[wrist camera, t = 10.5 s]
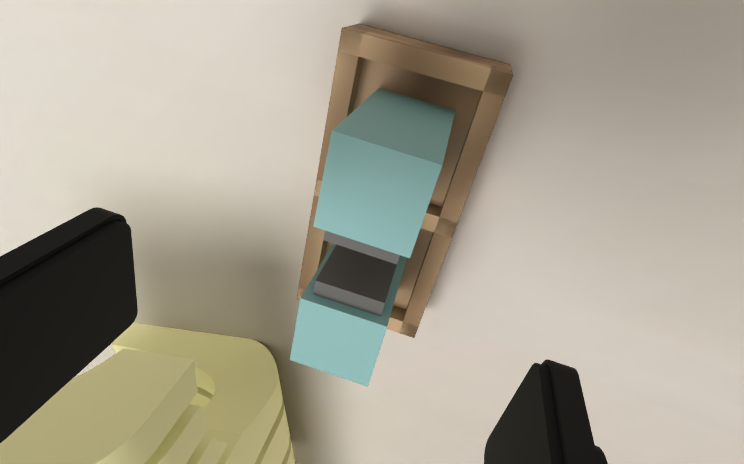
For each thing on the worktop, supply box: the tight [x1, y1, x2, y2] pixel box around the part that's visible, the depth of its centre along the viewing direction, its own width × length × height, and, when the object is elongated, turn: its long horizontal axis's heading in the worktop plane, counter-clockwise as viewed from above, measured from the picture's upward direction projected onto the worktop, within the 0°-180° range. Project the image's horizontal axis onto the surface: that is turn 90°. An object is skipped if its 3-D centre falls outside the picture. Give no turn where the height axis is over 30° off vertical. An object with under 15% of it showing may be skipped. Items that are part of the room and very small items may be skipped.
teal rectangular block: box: [313, 88, 455, 264], centre depth 19 cm, size 4×5×8 cm
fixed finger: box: [290, 243, 407, 387], centre depth 23 cm, size 4×5×8 cm
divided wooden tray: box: [297, 24, 513, 338], centre depth 25 cm, size 8×16×3 cm, turn 167°
